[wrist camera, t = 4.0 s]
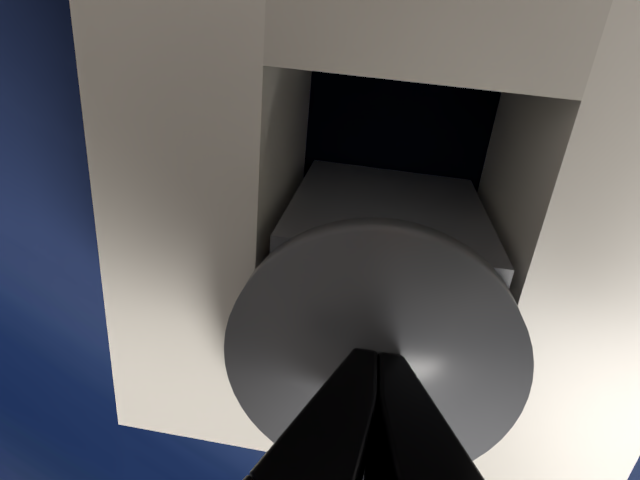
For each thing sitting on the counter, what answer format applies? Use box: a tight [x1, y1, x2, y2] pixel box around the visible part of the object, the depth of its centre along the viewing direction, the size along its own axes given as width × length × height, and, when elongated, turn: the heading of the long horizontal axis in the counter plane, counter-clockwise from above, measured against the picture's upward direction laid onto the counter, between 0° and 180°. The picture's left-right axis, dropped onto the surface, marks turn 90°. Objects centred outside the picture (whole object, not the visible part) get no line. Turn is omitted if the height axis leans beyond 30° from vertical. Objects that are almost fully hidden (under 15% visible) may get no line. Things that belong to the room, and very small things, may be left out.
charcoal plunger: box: [224, 160, 534, 461], centre depth 11 cm, size 5×5×6 cm
